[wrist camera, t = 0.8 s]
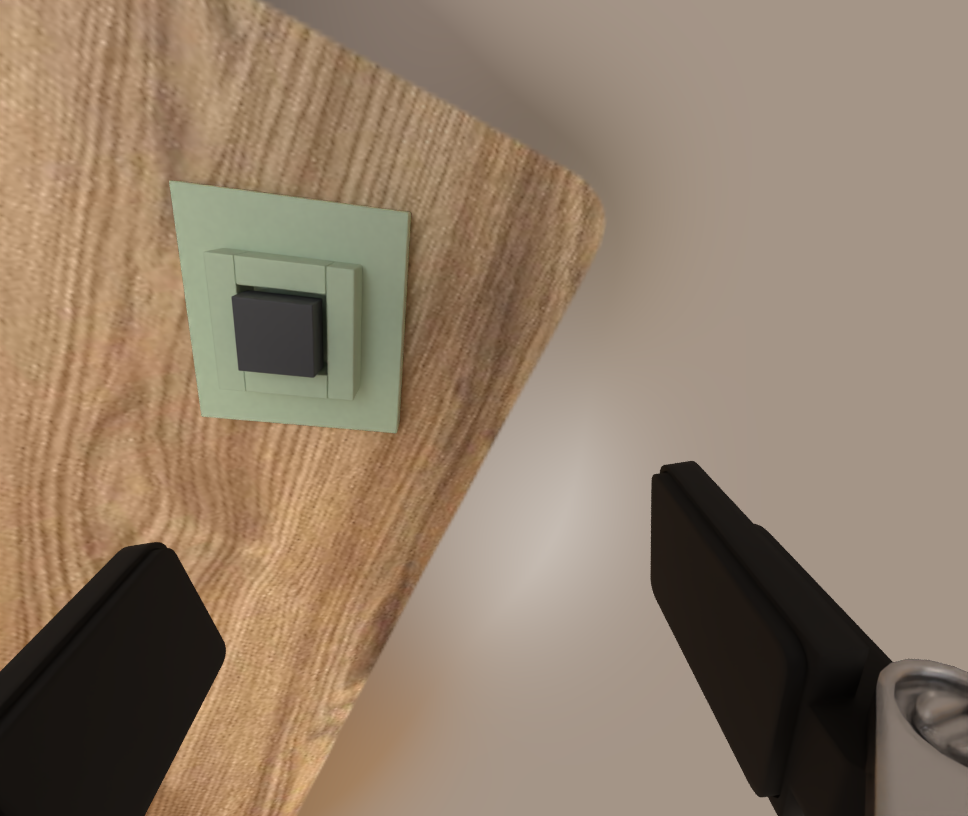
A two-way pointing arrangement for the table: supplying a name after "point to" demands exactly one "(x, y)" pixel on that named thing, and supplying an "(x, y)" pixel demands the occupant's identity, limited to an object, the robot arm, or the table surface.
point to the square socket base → (302, 272)
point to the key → (278, 333)
